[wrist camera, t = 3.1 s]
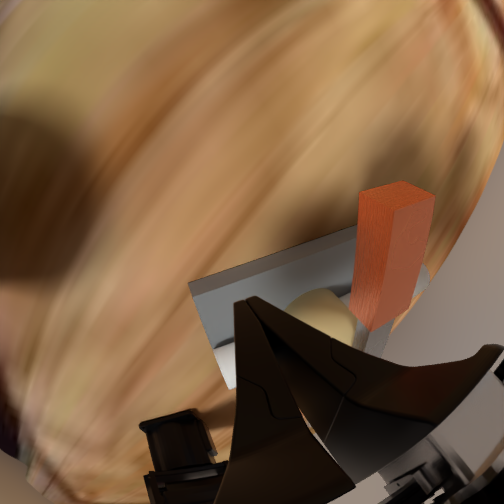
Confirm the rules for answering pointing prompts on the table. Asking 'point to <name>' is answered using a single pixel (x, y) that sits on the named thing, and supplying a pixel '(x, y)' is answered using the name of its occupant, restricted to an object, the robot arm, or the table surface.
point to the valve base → (286, 292)
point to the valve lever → (387, 258)
